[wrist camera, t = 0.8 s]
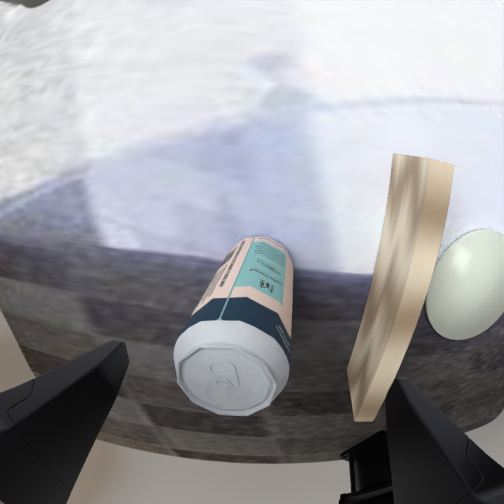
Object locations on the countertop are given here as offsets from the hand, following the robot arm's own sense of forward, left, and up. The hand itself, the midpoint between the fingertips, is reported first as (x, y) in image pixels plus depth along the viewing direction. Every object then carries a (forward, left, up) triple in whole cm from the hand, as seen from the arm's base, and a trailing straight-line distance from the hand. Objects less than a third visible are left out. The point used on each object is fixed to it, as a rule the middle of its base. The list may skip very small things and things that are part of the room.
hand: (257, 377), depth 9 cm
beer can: (-2, 0, -13) cm, 14 cm away
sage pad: (+8, -15, -13) cm, 21 cm away
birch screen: (+3, -8, -13) cm, 15 cm away
